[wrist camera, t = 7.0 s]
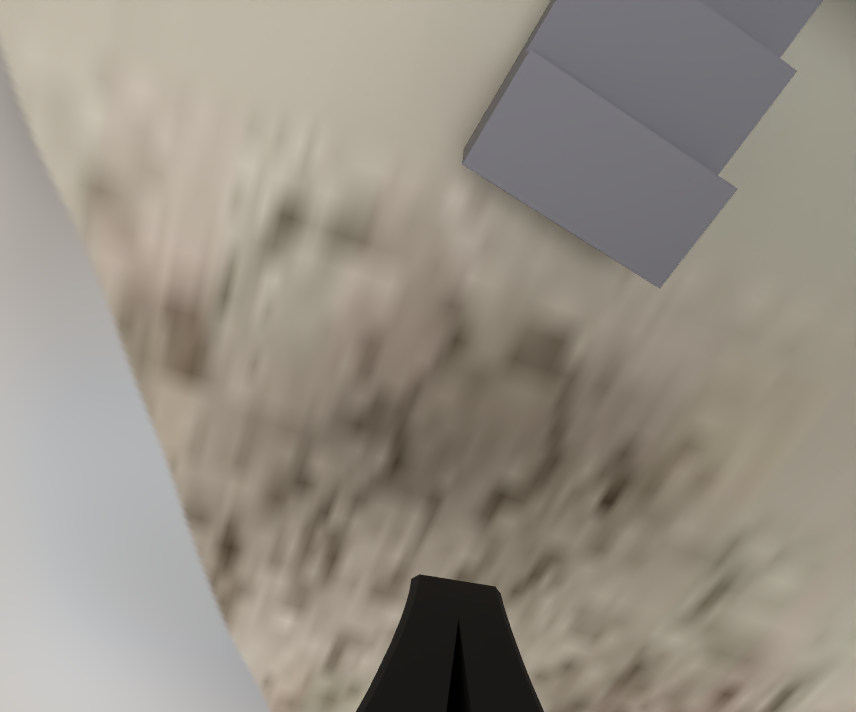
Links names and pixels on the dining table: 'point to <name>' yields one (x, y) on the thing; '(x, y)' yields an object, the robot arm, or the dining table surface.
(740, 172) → the dining table surface
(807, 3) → the grey stepped block
